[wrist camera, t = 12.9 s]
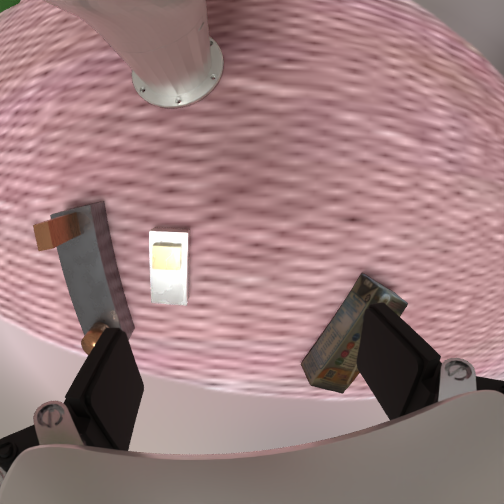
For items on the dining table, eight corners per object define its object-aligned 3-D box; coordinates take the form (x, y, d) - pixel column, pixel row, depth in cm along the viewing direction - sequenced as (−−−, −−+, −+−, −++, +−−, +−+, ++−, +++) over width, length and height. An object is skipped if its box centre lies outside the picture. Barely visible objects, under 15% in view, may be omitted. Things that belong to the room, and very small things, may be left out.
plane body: (66, 210, 34) (19, 224, 23) (104, 201, 34) (62, 212, 23) (98, 330, 40) (70, 371, 28) (134, 328, 40) (112, 373, 29)
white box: (154, 226, 37) (146, 233, 32) (190, 228, 37) (186, 235, 33) (155, 293, 39) (149, 307, 35) (188, 296, 40) (185, 310, 35)
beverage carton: (392, 289, 43) (413, 305, 37) (331, 374, 47) (343, 398, 40) (360, 270, 41) (381, 286, 35) (297, 364, 45) (307, 388, 39)
